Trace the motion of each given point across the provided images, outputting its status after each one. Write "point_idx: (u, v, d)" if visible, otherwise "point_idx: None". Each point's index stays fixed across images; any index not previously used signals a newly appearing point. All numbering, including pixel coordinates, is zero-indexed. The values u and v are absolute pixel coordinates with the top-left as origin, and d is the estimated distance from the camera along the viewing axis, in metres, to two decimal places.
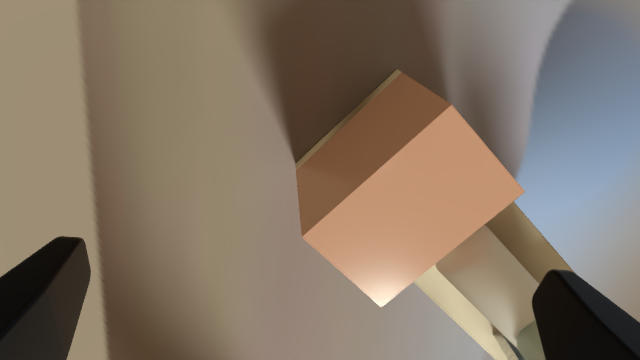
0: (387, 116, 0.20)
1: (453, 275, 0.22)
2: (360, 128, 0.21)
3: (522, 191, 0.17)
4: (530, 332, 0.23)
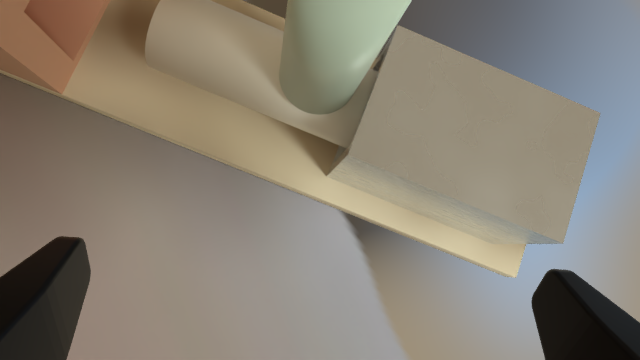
0: None
1: (146, 38, 0.17)
2: None
3: None
4: None
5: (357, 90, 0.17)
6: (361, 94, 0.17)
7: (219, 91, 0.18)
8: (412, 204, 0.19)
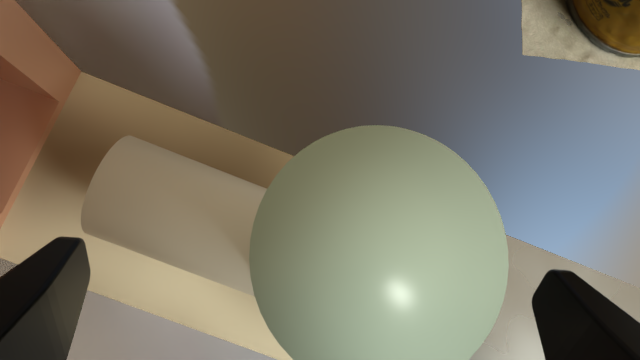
0: None
1: (81, 213, 0.13)
2: None
3: None
4: None
5: None
6: None
7: (178, 267, 0.14)
8: None
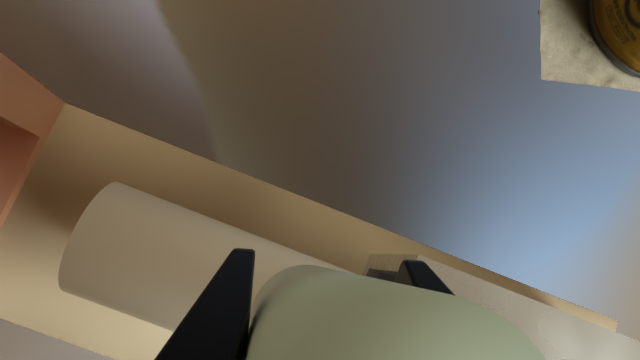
0: None
1: None
2: None
3: None
4: (251, 314, 0.11)
5: None
6: None
7: (167, 329, 0.13)
8: None
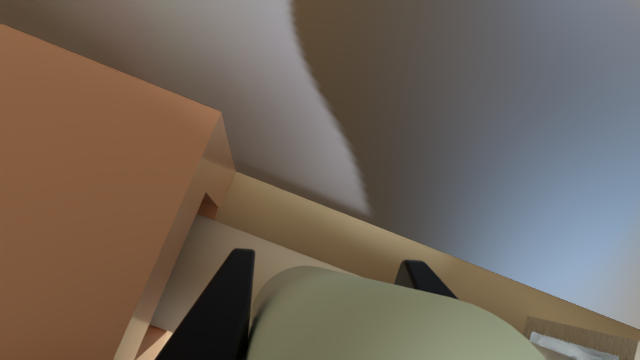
0: None
1: None
2: None
3: (216, 113, 0.09)
4: (251, 315, 0.11)
5: None
6: None
7: (167, 330, 0.13)
8: None
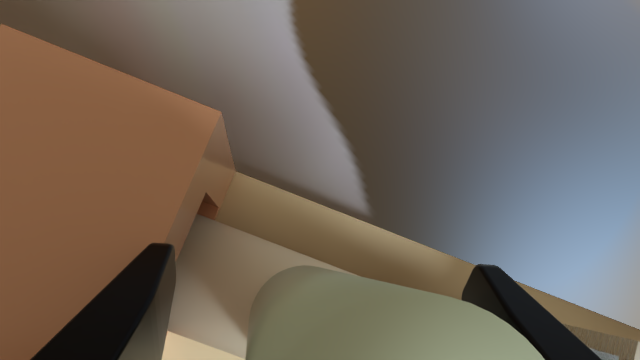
0: None
1: None
2: None
3: (216, 113, 0.09)
4: (250, 315, 0.11)
5: None
6: None
7: (167, 330, 0.13)
8: None
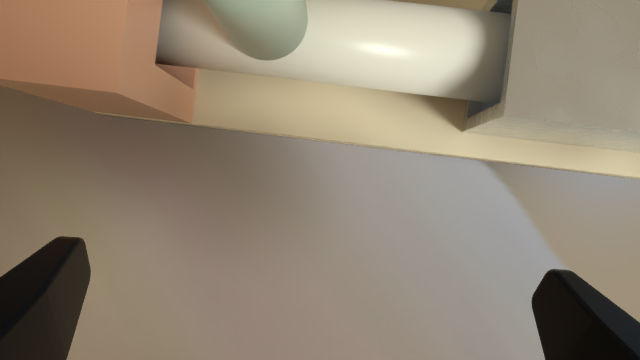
0: None
1: None
2: None
3: None
4: None
5: (310, 22, 0.16)
6: (315, 24, 0.16)
7: (181, 63, 0.18)
8: (564, 139, 0.18)
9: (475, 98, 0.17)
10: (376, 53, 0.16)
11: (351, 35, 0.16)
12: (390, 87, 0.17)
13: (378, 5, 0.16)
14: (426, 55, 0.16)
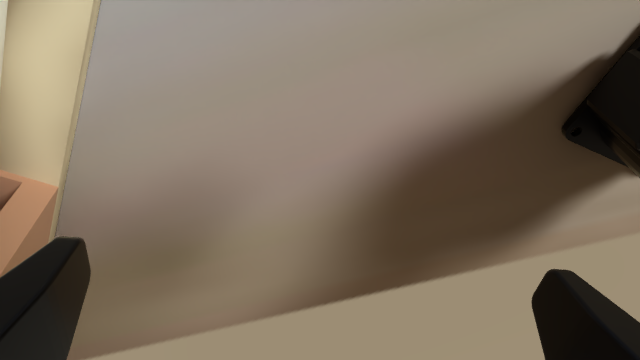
0: None
1: None
2: None
3: None
4: None
5: None
6: None
7: None
8: None
9: None
10: None
11: None
12: None
13: None
14: None
